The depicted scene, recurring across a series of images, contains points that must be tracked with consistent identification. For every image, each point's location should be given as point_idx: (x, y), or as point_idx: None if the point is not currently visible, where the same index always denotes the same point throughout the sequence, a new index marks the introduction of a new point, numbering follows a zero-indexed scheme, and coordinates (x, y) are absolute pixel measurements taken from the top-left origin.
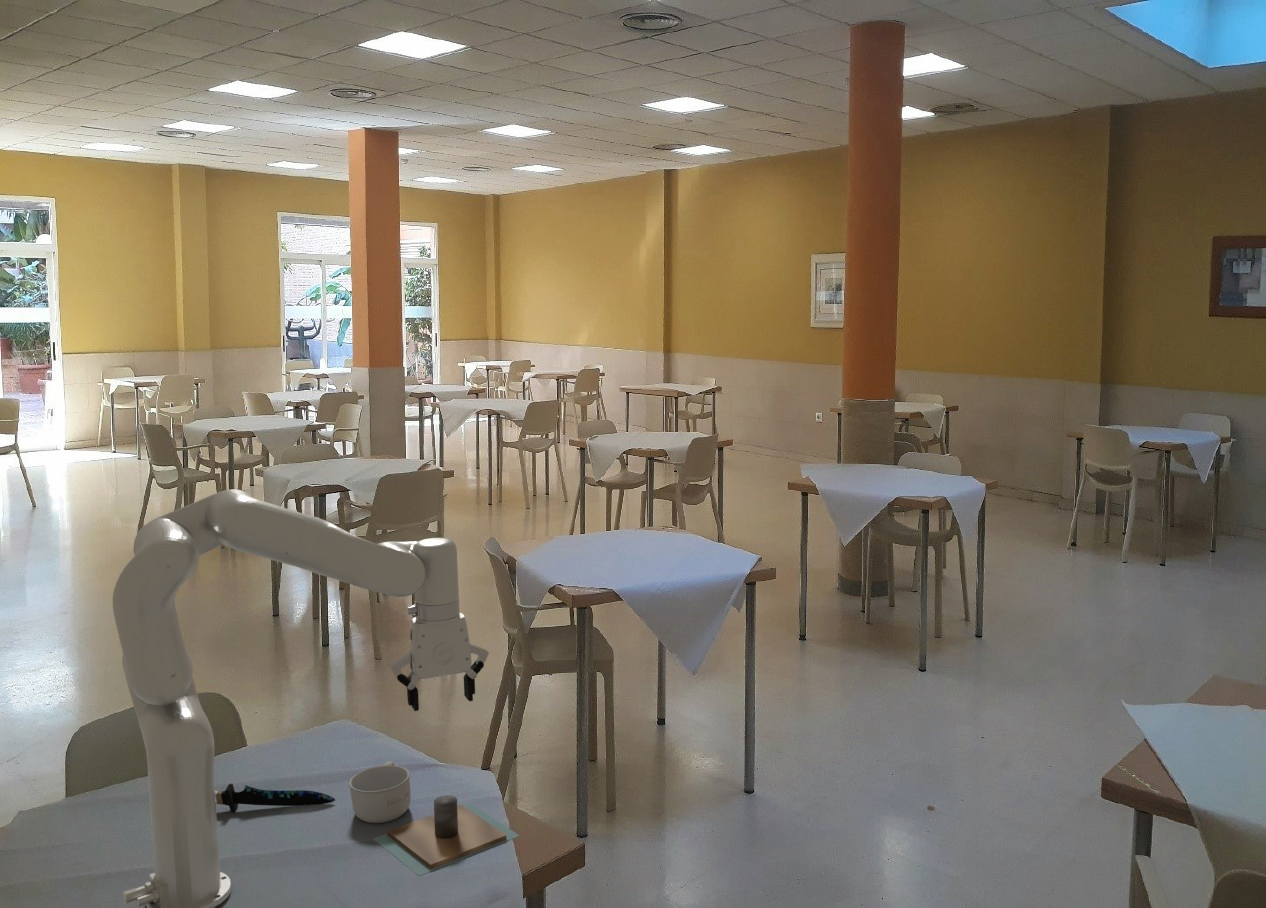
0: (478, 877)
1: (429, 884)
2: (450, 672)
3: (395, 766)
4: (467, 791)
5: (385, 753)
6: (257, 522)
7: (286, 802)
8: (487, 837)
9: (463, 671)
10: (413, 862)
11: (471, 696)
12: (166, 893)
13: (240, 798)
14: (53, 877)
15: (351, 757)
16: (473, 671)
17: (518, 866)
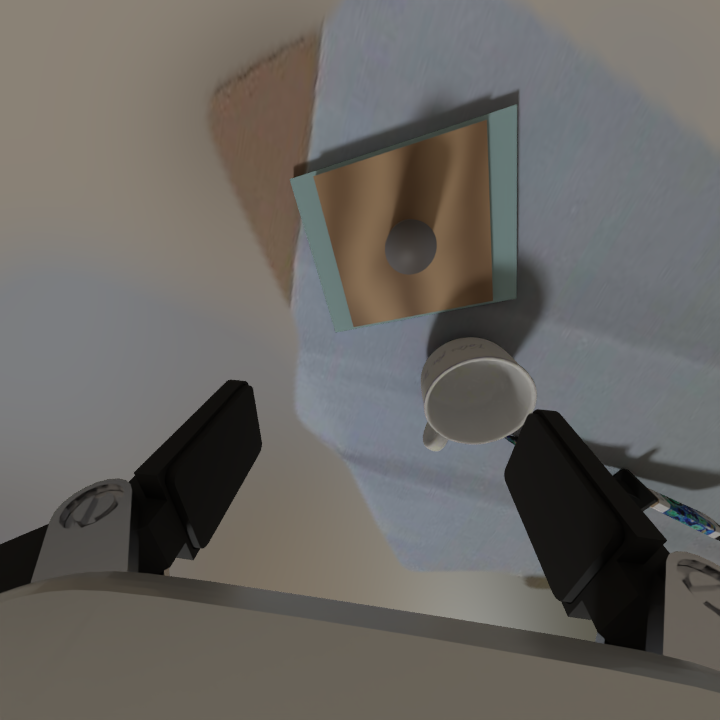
0: (405, 62)
1: (500, 84)
2: (271, 645)
3: (436, 427)
4: (327, 378)
5: (390, 503)
6: None
7: None
8: (348, 184)
9: (82, 584)
10: (499, 171)
11: (223, 391)
12: None
13: (621, 484)
14: None
15: (429, 512)
16: (46, 548)
17: (320, 71)
